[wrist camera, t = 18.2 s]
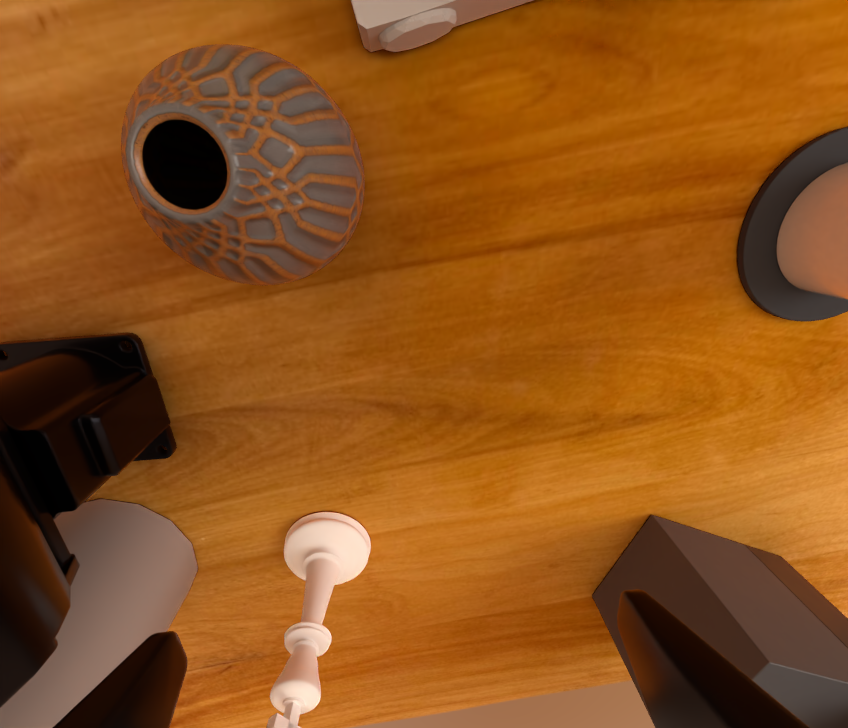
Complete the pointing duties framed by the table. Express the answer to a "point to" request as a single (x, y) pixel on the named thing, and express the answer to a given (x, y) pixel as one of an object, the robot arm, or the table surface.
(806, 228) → the white cup
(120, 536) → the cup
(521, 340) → the table surface
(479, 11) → the camera
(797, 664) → the coffee maker
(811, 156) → the coaster
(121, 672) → the robot arm
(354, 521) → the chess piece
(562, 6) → the table surface
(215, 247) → the vase
